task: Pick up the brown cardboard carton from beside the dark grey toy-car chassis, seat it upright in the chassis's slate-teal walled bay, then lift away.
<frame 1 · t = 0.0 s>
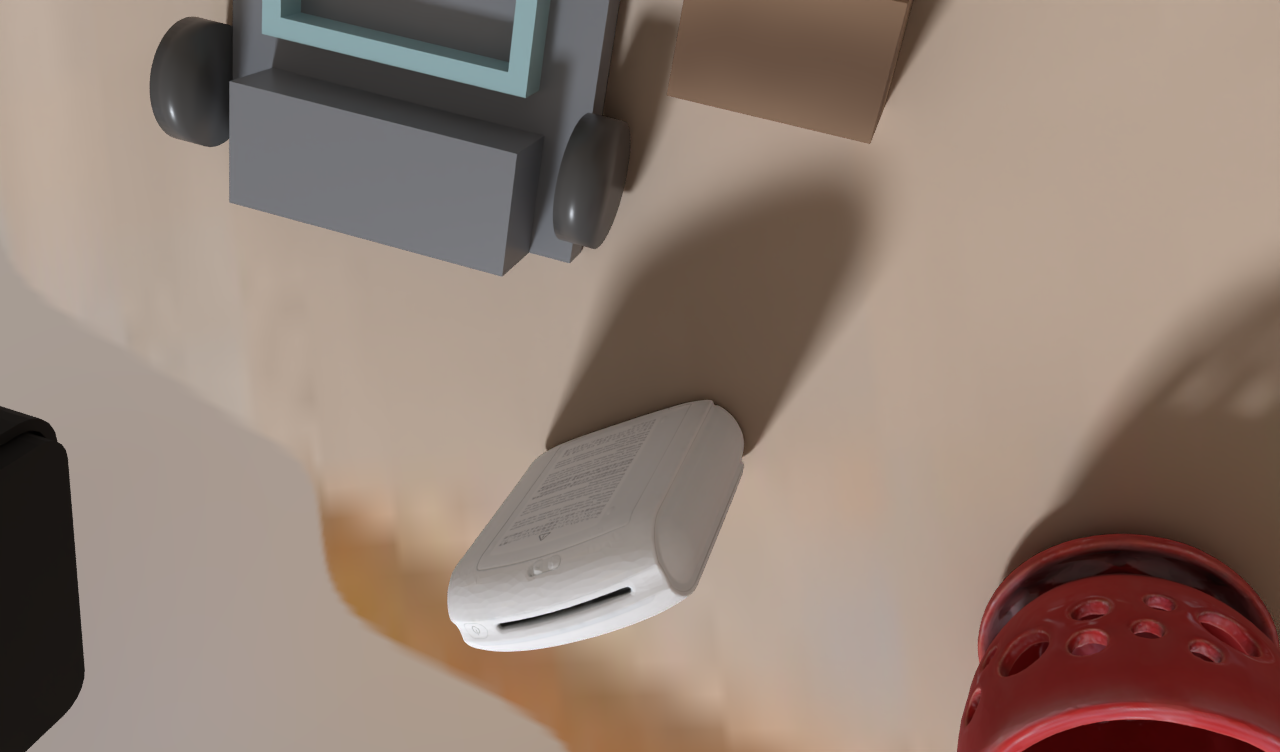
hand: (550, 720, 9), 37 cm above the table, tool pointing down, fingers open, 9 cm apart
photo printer: (641, 455, 52), on the table
brown cardboard carton: (807, 25, 42), on the table
plant pot: (1116, 635, 49), on the table
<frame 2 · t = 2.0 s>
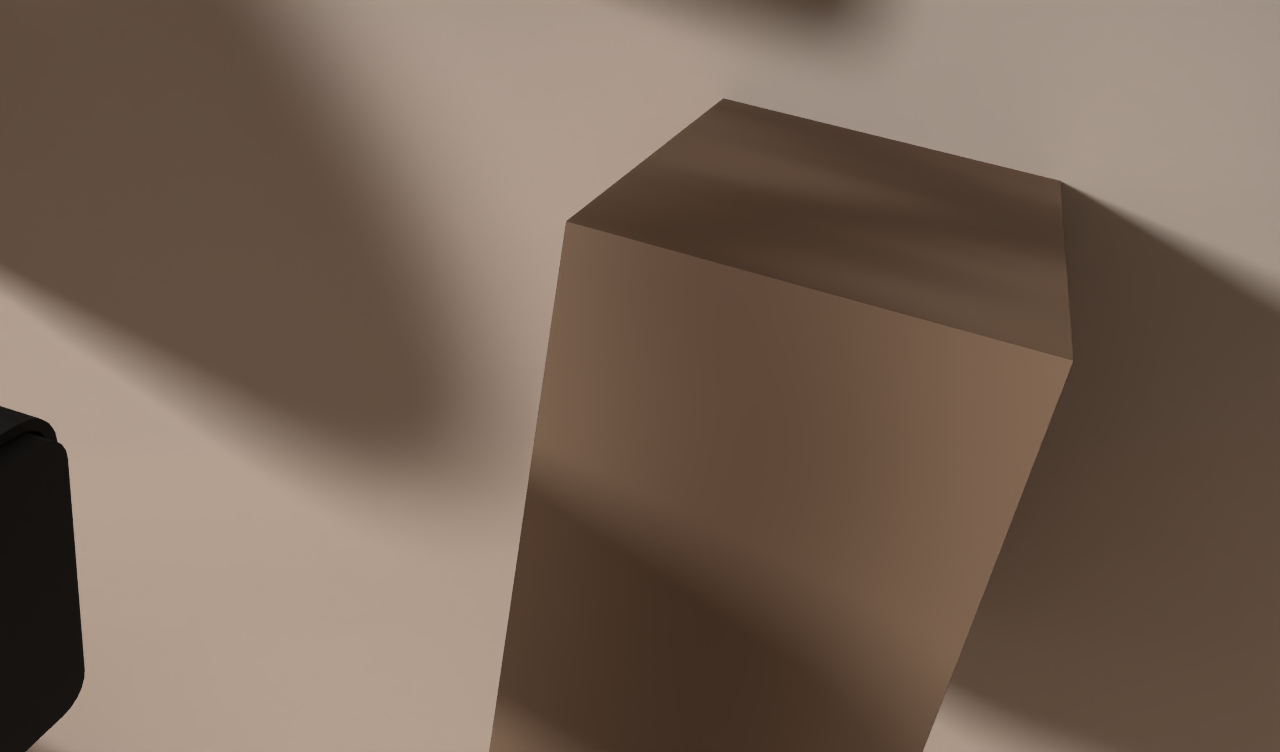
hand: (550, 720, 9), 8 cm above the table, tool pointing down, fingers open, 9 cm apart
brown cardboard carton: (823, 370, 17), on the table
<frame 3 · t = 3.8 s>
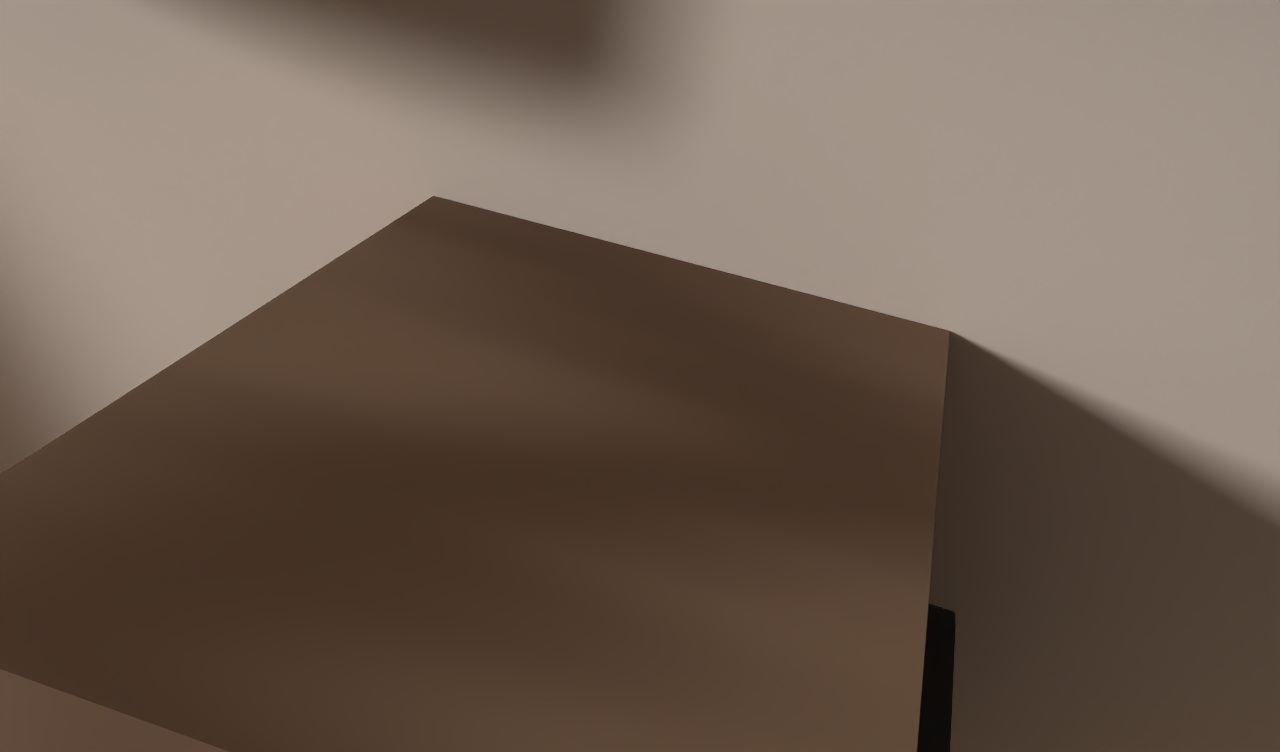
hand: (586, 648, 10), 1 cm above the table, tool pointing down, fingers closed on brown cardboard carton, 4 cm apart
brown cardboard carton: (616, 590, 11), on the table, touching gripper
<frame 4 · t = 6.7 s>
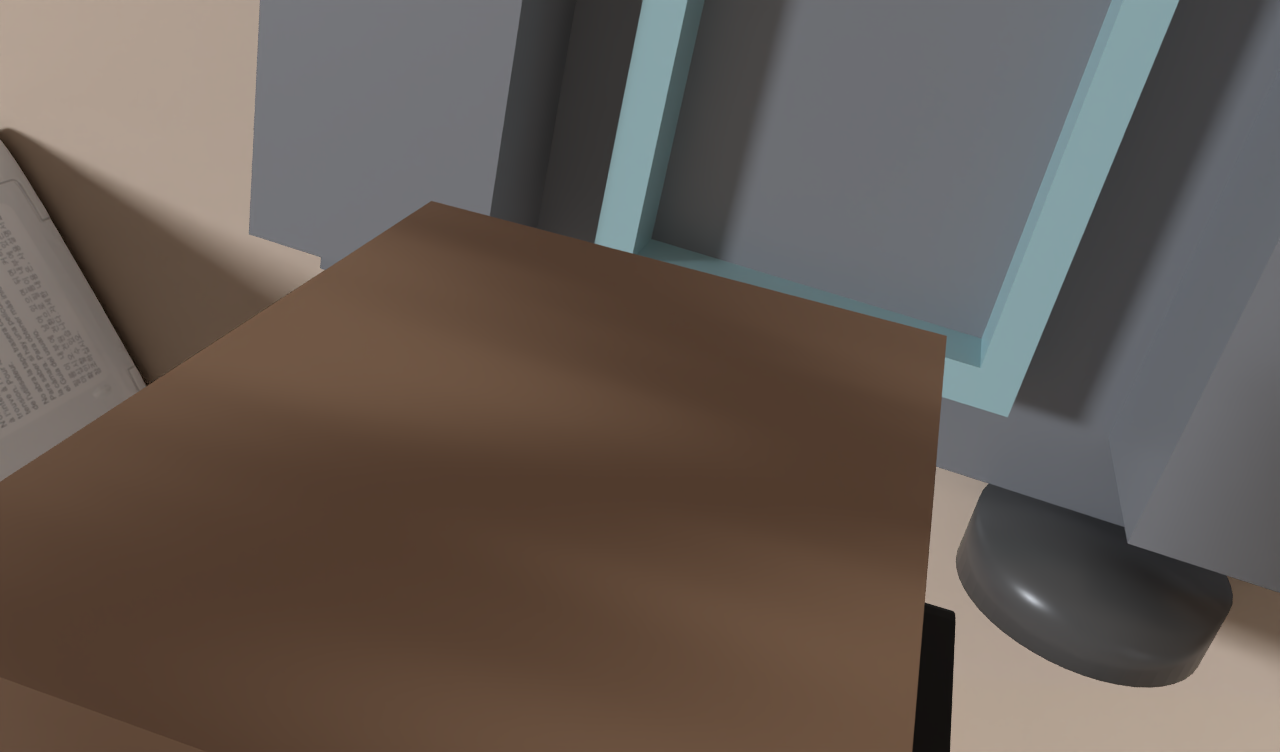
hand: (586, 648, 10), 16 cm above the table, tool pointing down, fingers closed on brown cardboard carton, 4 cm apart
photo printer: (49, 292, 31), on the table
brown cardboard carton: (614, 593, 11), point 15 cm above the table, touching gripper
chassis: (888, 44, 22), on the table
when the fingers open (3 cm above the table, at t = 9.5 s): brown cardboard carton stays where it is, resting on chassis.
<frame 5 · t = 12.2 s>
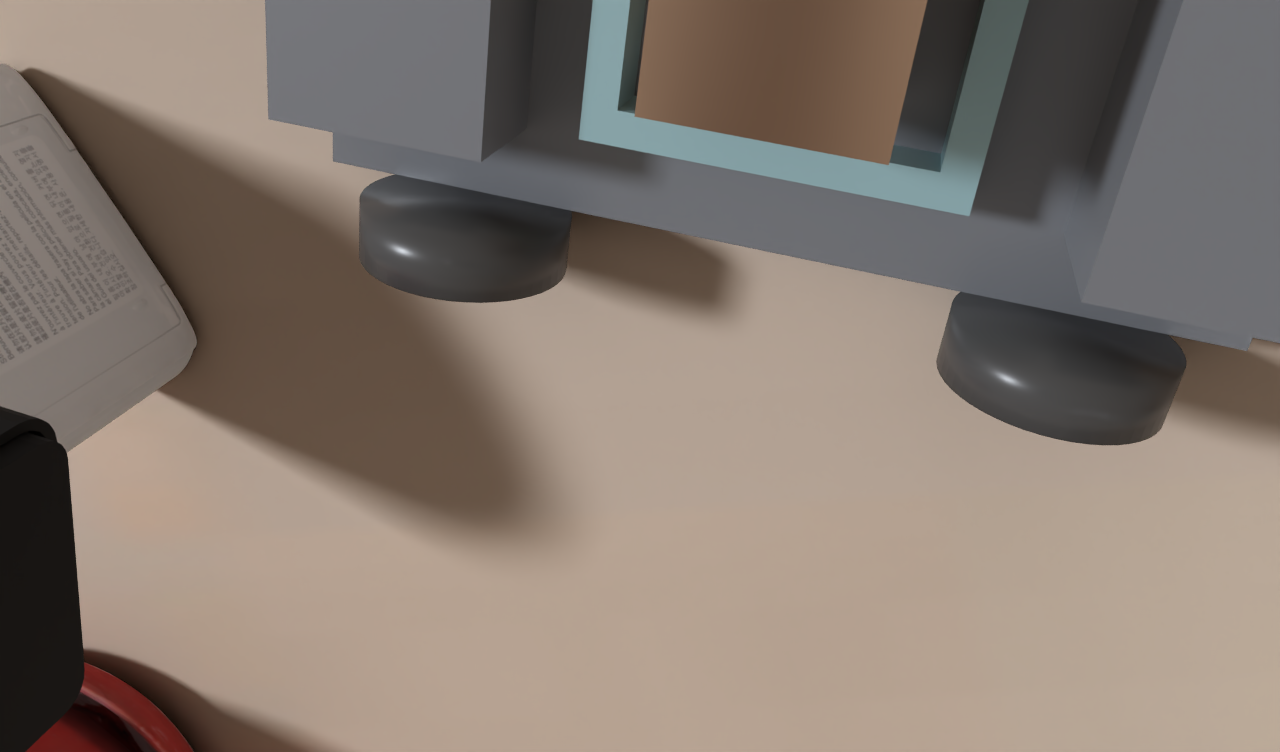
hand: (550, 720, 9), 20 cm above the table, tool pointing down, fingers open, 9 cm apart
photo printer: (80, 224, 34), on the table
plant pot: (94, 745, 44), on the table
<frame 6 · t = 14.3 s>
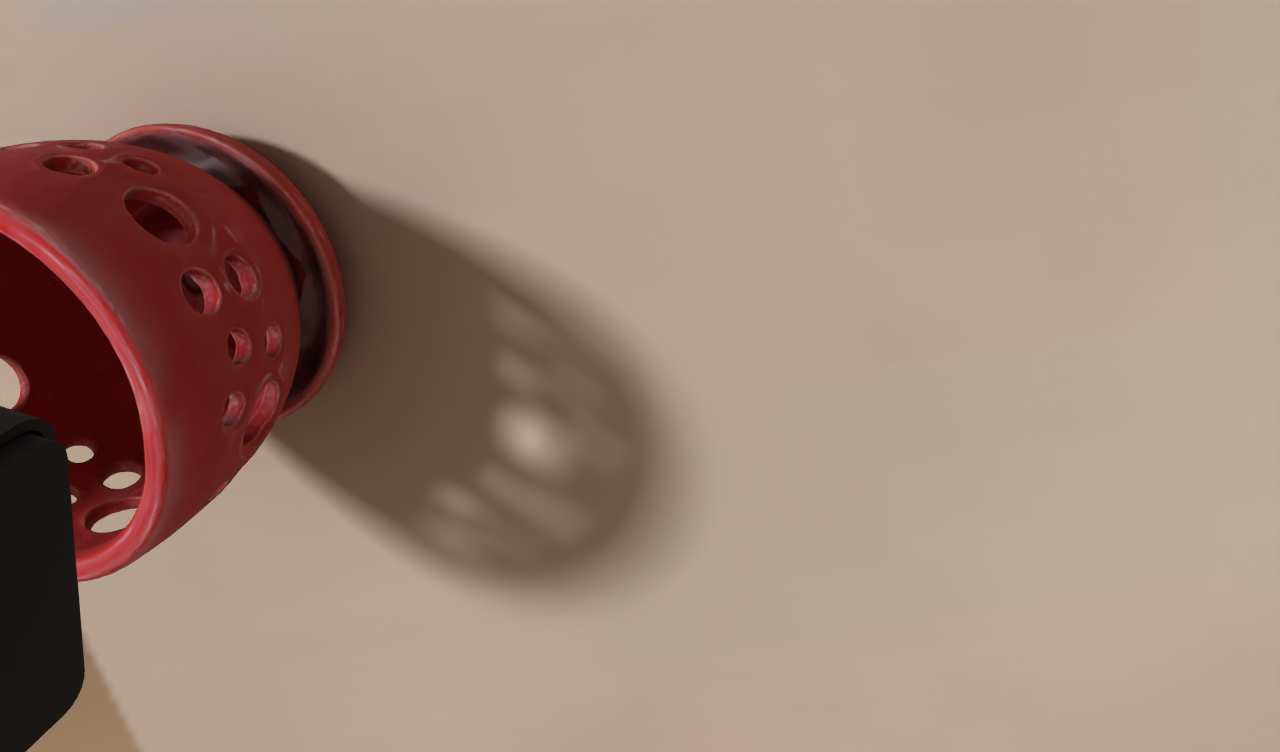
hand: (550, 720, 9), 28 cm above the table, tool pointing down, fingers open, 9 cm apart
plant pot: (220, 264, 44), on the table
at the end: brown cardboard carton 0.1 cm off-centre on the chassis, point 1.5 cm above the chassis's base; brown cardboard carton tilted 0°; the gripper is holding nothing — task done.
